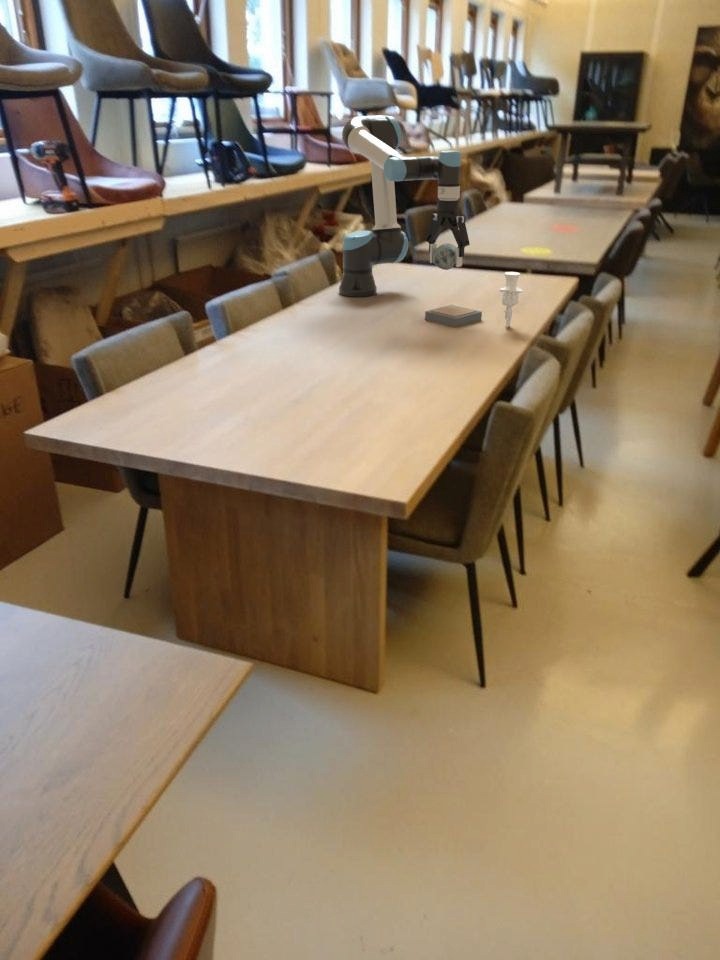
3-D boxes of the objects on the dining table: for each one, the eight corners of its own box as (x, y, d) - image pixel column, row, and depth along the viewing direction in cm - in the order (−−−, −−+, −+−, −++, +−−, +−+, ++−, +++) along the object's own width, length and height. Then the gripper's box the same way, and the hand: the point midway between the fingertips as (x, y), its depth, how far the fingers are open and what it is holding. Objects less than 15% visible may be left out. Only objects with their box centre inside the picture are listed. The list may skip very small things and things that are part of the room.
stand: (424, 319, 263) (425, 310, 261) (450, 313, 272) (451, 303, 270) (455, 327, 254) (456, 317, 252) (481, 320, 263) (481, 310, 261)
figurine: (498, 322, 260) (503, 269, 252) (520, 324, 257) (526, 271, 249) (493, 330, 251) (498, 275, 243) (516, 332, 249) (521, 277, 241)
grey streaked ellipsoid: (460, 262, 258) (449, 235, 258) (435, 274, 261) (424, 247, 261) (466, 265, 271) (456, 239, 270) (442, 276, 274) (432, 251, 274)
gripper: (415, 198, 263) (414, 261, 272) (468, 202, 248) (465, 269, 257) (429, 196, 268) (427, 259, 277) (482, 200, 252) (478, 267, 262)
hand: (445, 264), depth 267 cm, fingers closed on grey streaked ellipsoid, 11 cm apart
